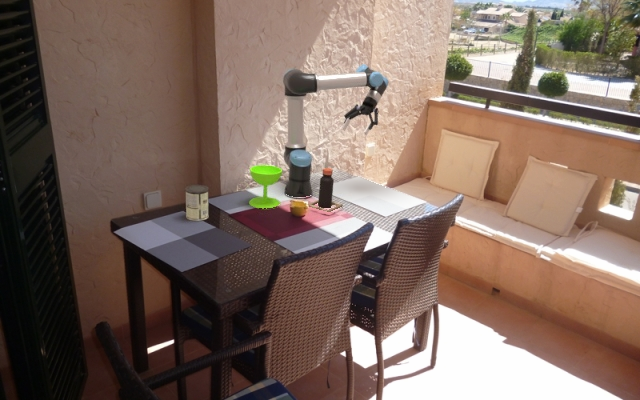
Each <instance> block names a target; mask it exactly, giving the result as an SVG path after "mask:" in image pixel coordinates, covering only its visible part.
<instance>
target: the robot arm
mask: <svg viewBox="0 0 640 400" xmlns="http://www.w3.org/2000/svg"><path fill="white" fill-rule="evenodd" d="M282 83H283V85H284V96H285V97H286V99H287V142H286V143H285V144H284V152H283V161H284V162H285V164H286V165H287V167H288V181H287V183H286V186H285V188H284V194H285V193H286V194H287V195H289V196H293V197H306V196H310V195H312V196H313V189H312V184H311V174H312V173H311V172H312V163H313V159H312V158H313V156H312V153H310V151H307V144H306V143H305V142H304V99H305V98H306V96H307V94H316V93H318V92H319V91H326V90H328V91H329V90H338V89H339V90H340V89H350V88H360V87H362V88H363V87H368V88H369V90H368V92H367V94H366V96H365V97H364V99H363V101H362V104H361V105H358V104H359V103H358V104H357V103H356V104H355V106H354V107H353V108H351V109H350V110H349V111H347V112H346V113H345V114H344V119H345V120H344V121H343V126H342V130H343V131H345V132H346V130H347V128H348V127H349V124H350V123H351V120H353V119H354V118H356V117H358V116H361V115H362V116H368V117H369V119H370V122H368V124H367V125H366V127H365V129H364V131H363V134H364V136H368V134H369V132H370V131H371V130H372V129H373V127H374V126H375V125H376V126H378V124H379V121H378V120H379V116H378V115H379V112H380V111H379V108H377V106H378V104H379V103H380V100H381V98H382V96H383V94H384V93H385V91H386V90H387V88H388V86H389V83H390V82H389V79H388V78H387V77H386V76H384V75H383V74H382V73H381V72H380V71H377V70H374V69H371V68H369V66H367V64H365V63H362V64H361V65H359V67H357V68H356V70H355V72H346V73H344V72H343V73H332V74H331V73H329V74H316V73H306V72H304V71H302V70H300V69H297V68H293V69H288V70H287V71H286V72H285V73H284V76H283V78H282ZM372 113H373V114H374V115H373V116H374V119H373V116H372Z"/></svg>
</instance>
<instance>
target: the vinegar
mask: <svg viewBox="0 0 640 400" xmlns="http://www.w3.org/2000/svg"><path fill="white" fill-rule="evenodd" d="M332 176H333V169H332V168H330V167H329V168H328V167H326V168H322V176H321V177H319V178H320V179H319V187H318V188H319V190H318V200H319V201H318V206H319V207H321V208H331V206H332V202H333V193H334V183H335V182H334V181H335V179H334V178H333V177H332Z"/></svg>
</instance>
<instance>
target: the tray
mask: <svg viewBox="0 0 640 400" xmlns="http://www.w3.org/2000/svg"><path fill="white" fill-rule="evenodd" d="M318 201H319V199H317V200H315V201H312V202H310V203H308V204H307V205H309V207H312V208H316V209H319V210H323V211H327V212H331V211H333V210H335V209H338V208H340V207H342V206H343V205H344V204H341V203H339V202H335V201H332V205H336V207H334V208H331V209H329V210H327V209H324V208H320V207H317V206H314V205H315V204H317V203H318ZM343 207H344V206H343ZM343 207H342V208H343Z"/></svg>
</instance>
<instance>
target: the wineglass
mask: <svg viewBox="0 0 640 400" xmlns="http://www.w3.org/2000/svg"><path fill="white" fill-rule="evenodd" d="M249 170H250V171H249V173H250V177H251V178H252V180H253V181H254V182H255V183H257V184H258V185H261V186H263V193H262V195H263V196H258V197H253V198H251V199H250V200H249V202H248V204H249V206H251V207H252V206H253V208H255V207H256V209H259V208H262V209H261V210H268V209H267V208H273V207H276V206H278V205H279V204H280V205H281V202H280V201H279V200H278V199H277V198H274V197H271V196H268V186H272V185H274V184H276V183H277V182H278V181H279V180H280V178H281V176H282V174H283V169H282V168H280V167H278V166H274V165H266V164H265V165H264V164H261V165H253V166H251V167H250V168H249ZM264 208H266V209H264ZM273 209H274V208H273Z"/></svg>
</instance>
